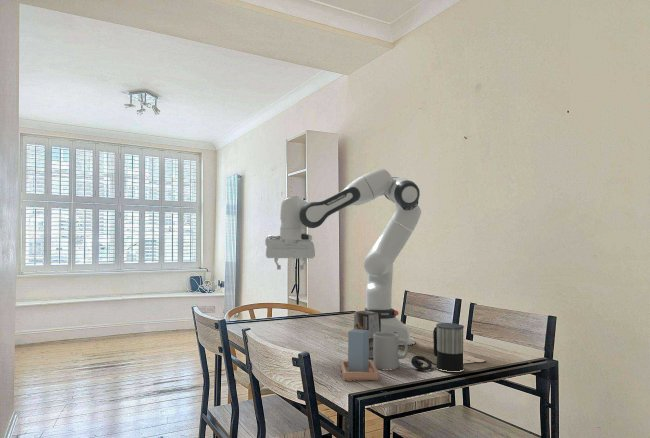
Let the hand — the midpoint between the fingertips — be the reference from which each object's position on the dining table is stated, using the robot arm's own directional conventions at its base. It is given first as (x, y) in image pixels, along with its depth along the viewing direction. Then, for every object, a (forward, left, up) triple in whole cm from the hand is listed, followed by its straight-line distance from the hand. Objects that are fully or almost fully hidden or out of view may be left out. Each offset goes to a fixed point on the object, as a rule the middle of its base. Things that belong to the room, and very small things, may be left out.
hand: (290, 269), depth 183 cm
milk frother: (-51, +33, -31) cm, 69 cm away
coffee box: (-30, +14, -31) cm, 46 cm away
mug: (-36, +30, -31) cm, 56 cm away
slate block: (-24, +39, -30) cm, 55 cm away
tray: (-24, +39, -31) cm, 55 cm away
